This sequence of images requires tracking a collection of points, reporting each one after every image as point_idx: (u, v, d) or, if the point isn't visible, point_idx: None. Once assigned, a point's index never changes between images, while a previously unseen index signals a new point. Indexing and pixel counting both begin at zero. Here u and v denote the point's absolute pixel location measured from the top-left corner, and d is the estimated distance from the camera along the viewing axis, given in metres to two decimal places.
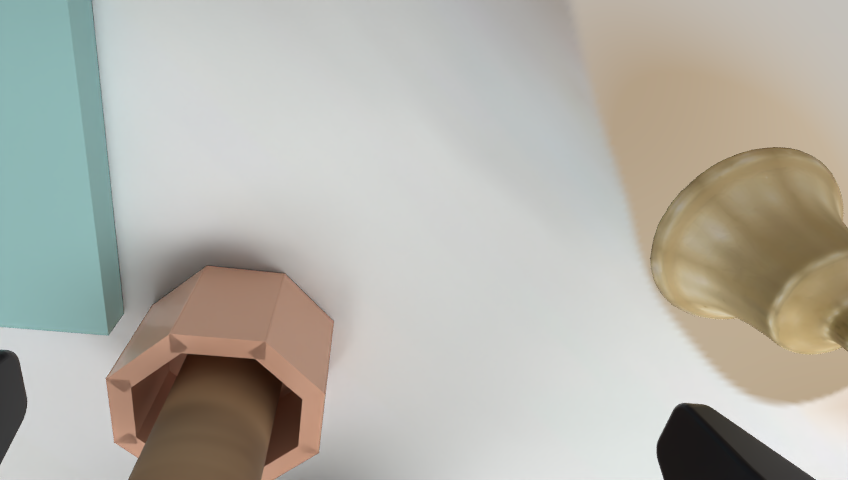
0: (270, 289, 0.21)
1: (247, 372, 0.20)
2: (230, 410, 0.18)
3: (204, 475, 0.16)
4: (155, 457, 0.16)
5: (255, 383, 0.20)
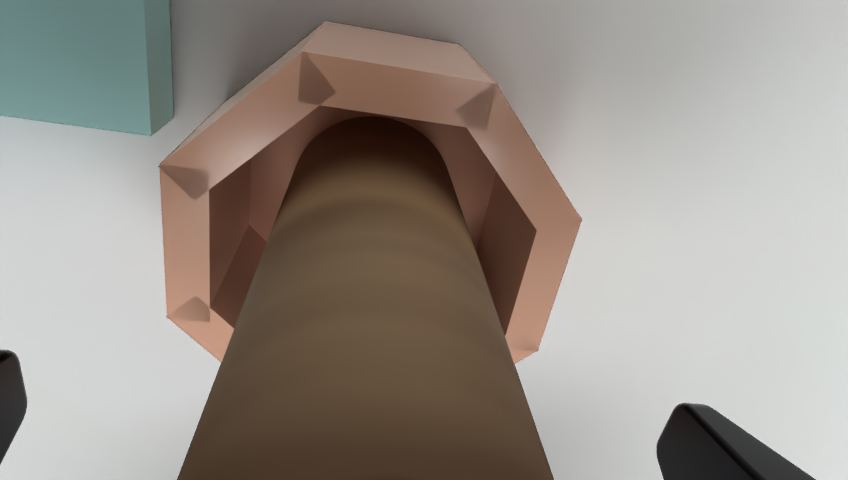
0: (450, 50, 0.12)
1: (430, 177, 0.10)
2: (432, 217, 0.08)
3: (444, 311, 0.06)
4: (305, 277, 0.07)
5: (448, 196, 0.10)
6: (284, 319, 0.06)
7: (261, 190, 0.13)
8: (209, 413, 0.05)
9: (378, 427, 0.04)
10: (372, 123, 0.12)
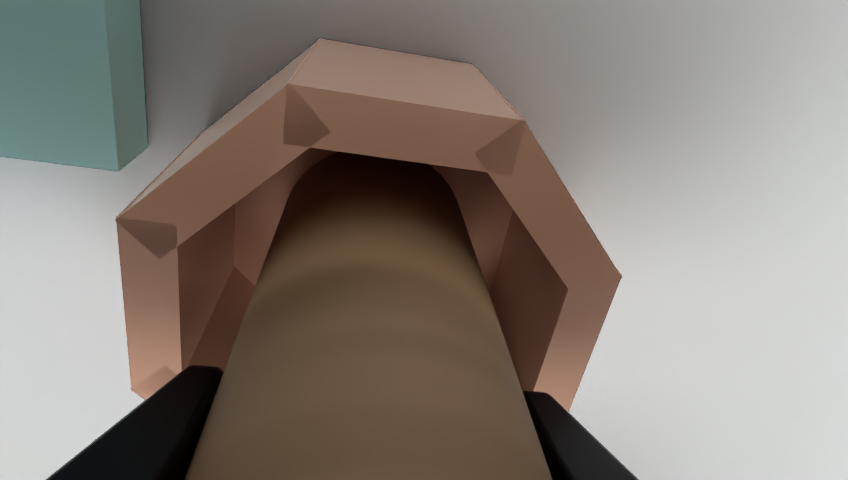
0: (463, 72, 0.10)
1: (442, 225, 0.09)
2: (448, 287, 0.07)
3: (471, 452, 0.04)
4: (285, 392, 0.05)
5: (463, 250, 0.09)
6: (254, 465, 0.04)
7: (247, 229, 0.12)
8: None
9: None
10: None
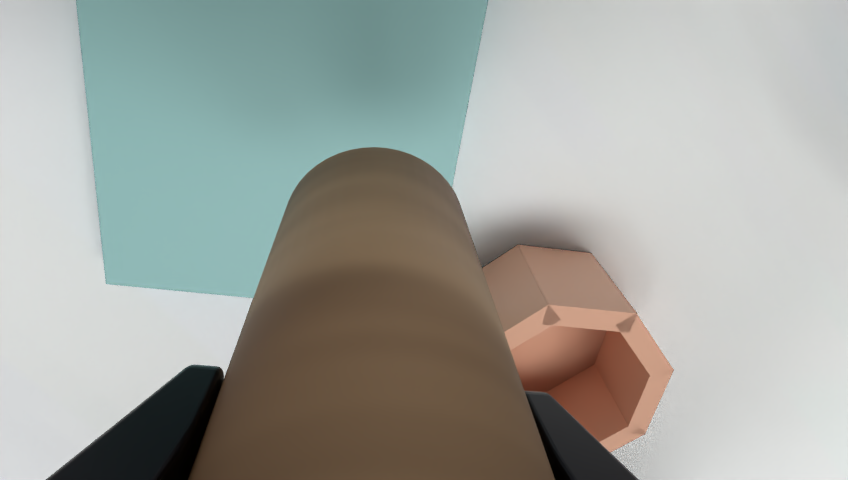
0: (592, 266, 0.21)
1: (444, 227, 0.09)
2: (451, 290, 0.07)
3: (475, 455, 0.04)
4: (288, 395, 0.05)
5: (465, 251, 0.09)
6: (257, 468, 0.04)
7: None
8: None
9: None
10: (374, 156, 0.11)
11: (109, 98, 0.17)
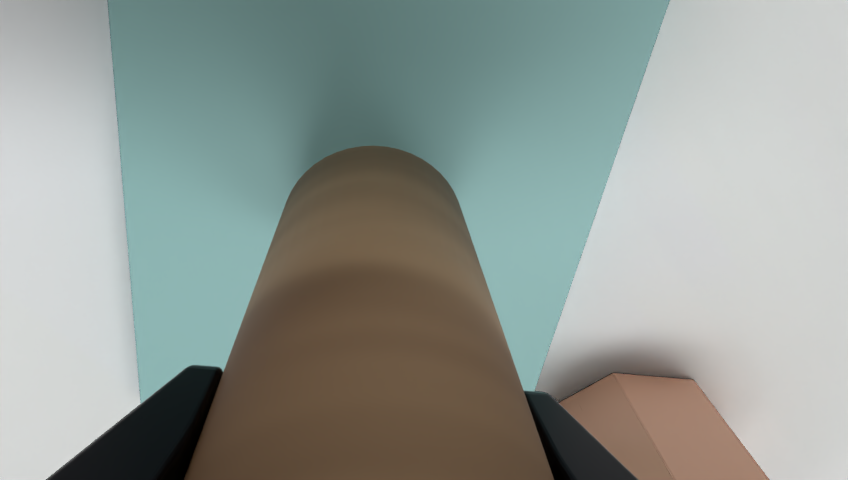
0: (702, 404, 0.19)
1: (443, 225, 0.09)
2: (449, 288, 0.07)
3: (473, 453, 0.04)
4: (285, 394, 0.05)
5: (464, 250, 0.09)
6: (253, 467, 0.04)
7: None
8: None
9: None
10: (373, 154, 0.11)
11: (156, 244, 0.14)
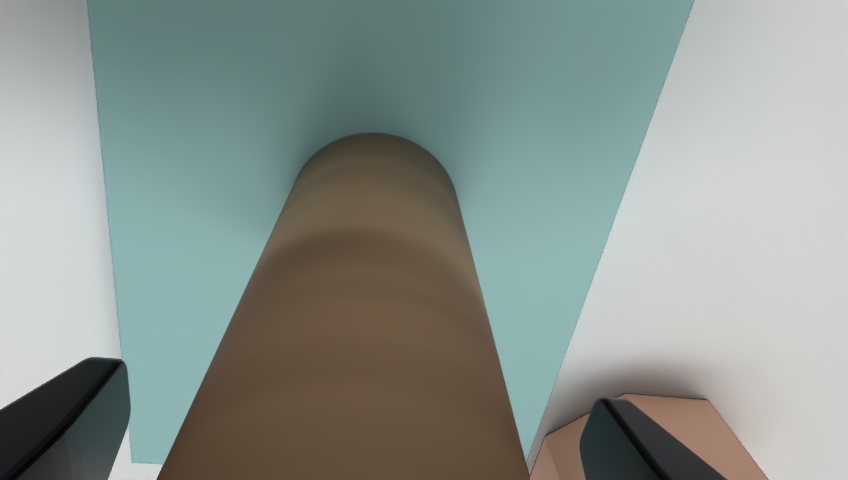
0: (718, 427, 0.18)
1: (432, 202, 0.09)
2: (431, 252, 0.08)
3: (434, 375, 0.05)
4: (277, 327, 0.06)
5: (451, 224, 0.09)
6: (247, 379, 0.05)
7: None
8: None
9: None
10: (374, 140, 0.11)
11: (142, 265, 0.13)
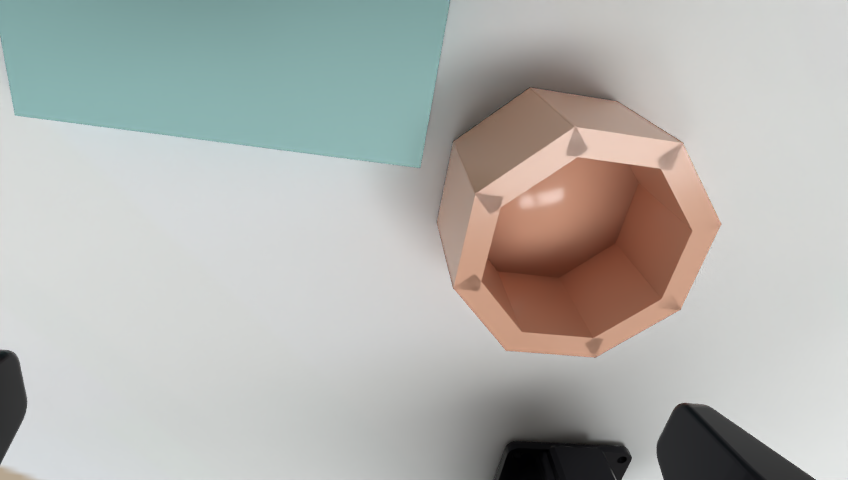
0: (621, 109, 0.18)
1: None
2: None
3: None
4: None
5: None
6: None
7: None
8: None
9: None
10: None
11: None
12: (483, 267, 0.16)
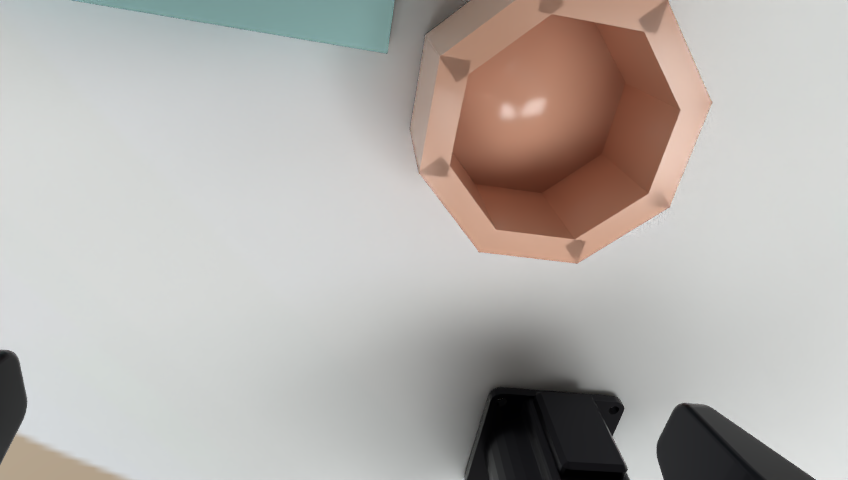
0: None
1: None
2: None
3: None
4: None
5: None
6: None
7: None
8: None
9: None
10: None
11: None
12: (451, 148, 0.15)
